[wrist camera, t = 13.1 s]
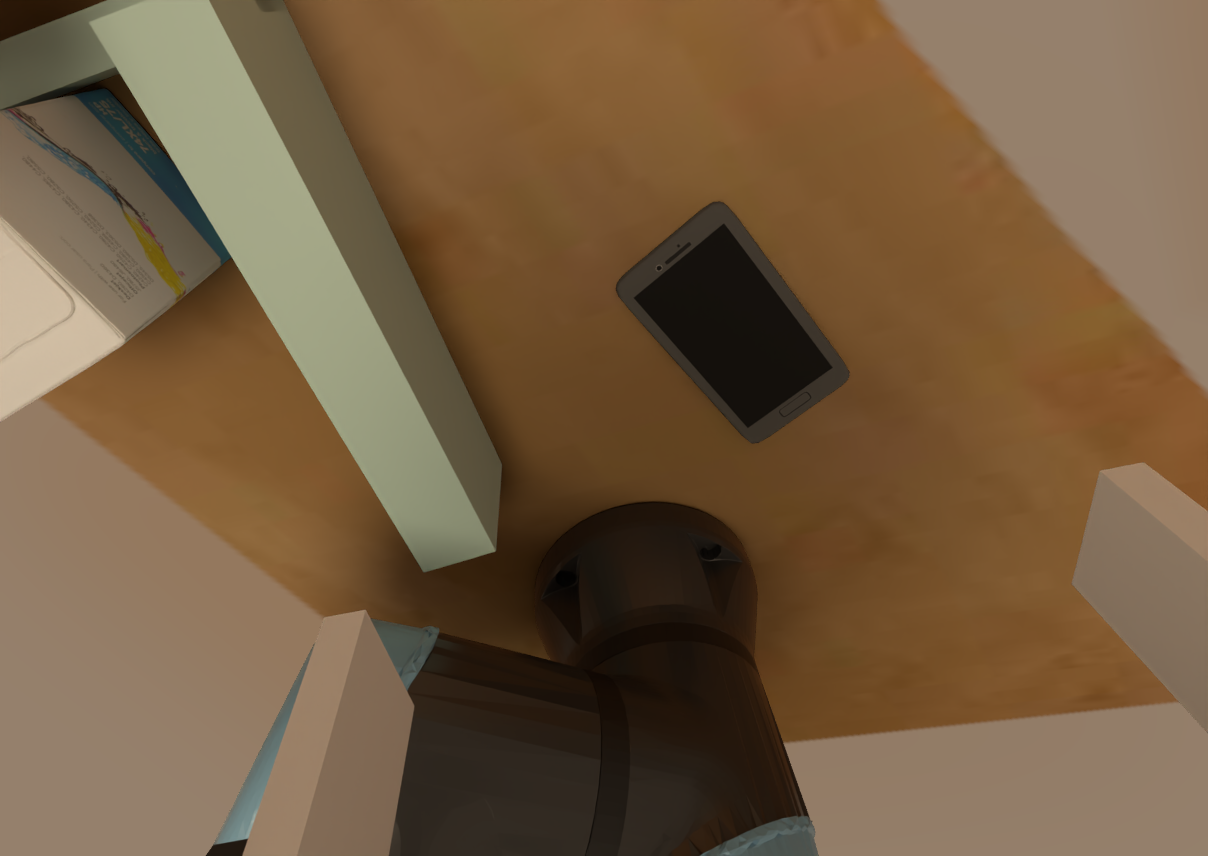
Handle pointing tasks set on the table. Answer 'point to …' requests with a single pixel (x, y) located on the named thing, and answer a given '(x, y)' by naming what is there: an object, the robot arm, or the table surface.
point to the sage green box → (294, 238)
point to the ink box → (87, 239)
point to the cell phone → (732, 324)
